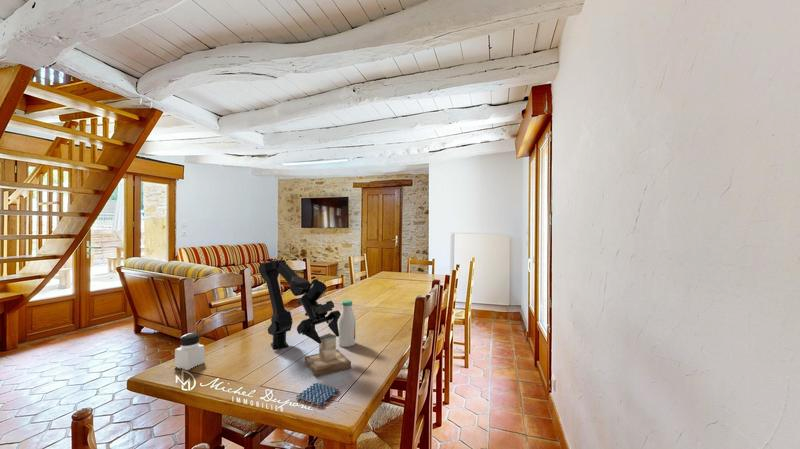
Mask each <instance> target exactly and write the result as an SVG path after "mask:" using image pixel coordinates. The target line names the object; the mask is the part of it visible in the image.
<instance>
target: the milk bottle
mask: <svg viewBox="0 0 800 449" xmlns="http://www.w3.org/2000/svg"><path fill="white" fill-rule="evenodd" d="M341 304H342V305H341V307H342V310H341V312H340V314H341V316H340V318H339V319H338V331H339V336H338V342H337V343H338V345H339V347H342V348H349V347H353V346H355V344H356V315H355V313H354V311H353V301H352V300H343V301H342V302H341Z"/></svg>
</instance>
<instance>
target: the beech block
mask: <svg viewBox="0 0 800 449" xmlns="http://www.w3.org/2000/svg"><path fill="white" fill-rule="evenodd" d="M319 338H320V340H321V343H320V344H319V343H318V344H319V346H318V348H319V349H318V353H319V360H321V361H324V362H328V361H330V360H332V359H335V358H336V350H337V336H336V335H335V334H334V333H330V332H329V333H326V334H323V335H321V336H319Z"/></svg>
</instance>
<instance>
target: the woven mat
mask: <svg viewBox="0 0 800 449" xmlns="http://www.w3.org/2000/svg"><path fill="white" fill-rule="evenodd" d="M340 392H341V391H340V389H339V388H336V387H333V386H329V385H326V384H322V383H319V382H317V383H315V382H314V383H312V385H309V387H307V388H306V389H304V390H303V391H302V392H299V394H297V395H296V399H295V400H296V401H297V402H300V403H302V404H306V405H307V406H313V407H316V408H320V409H322V408H324V407H325V406H326V405H327V404H328V403H330V402H331V401H332V400H333V399H334V398H336V397H337V396H338V395H339V394H340Z"/></svg>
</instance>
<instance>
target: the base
mask: <svg viewBox="0 0 800 449" xmlns="http://www.w3.org/2000/svg"><path fill="white" fill-rule="evenodd" d="M304 365H306V366H307V368H308V369H309V371H310V372H311V374H312V375H313V376H314V378H318V377H319V378H320V377H322V376H327V375H330V374H335V373H338V372H342V371H345V370H348V369H351V368H352V361H351V360H350V359H349V358H347V356H345V354H344V353H343V352H341V351H340V349H337V348H336V358H335V359H332V360H330V361H328V362H324V361H321V360H319V352H318V353H314V354H311V355H306V356H304Z"/></svg>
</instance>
